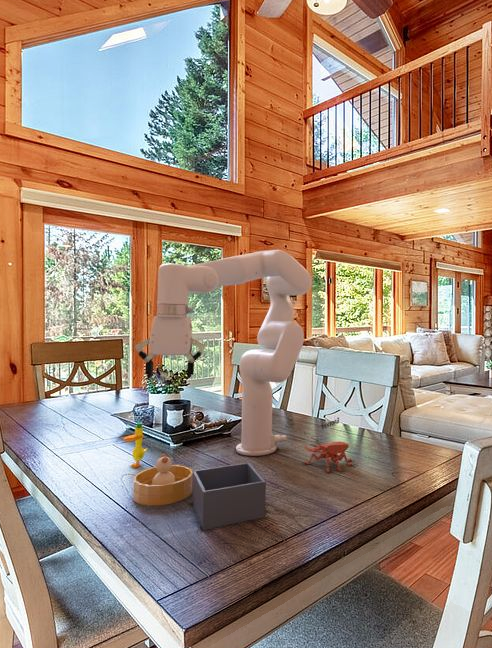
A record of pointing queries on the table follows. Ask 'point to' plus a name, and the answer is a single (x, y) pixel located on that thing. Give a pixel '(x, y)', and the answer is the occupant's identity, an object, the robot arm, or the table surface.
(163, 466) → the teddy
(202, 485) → the bin
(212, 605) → the table surface
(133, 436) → the toy figure
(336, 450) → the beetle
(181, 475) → the bowl
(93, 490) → the table surface
